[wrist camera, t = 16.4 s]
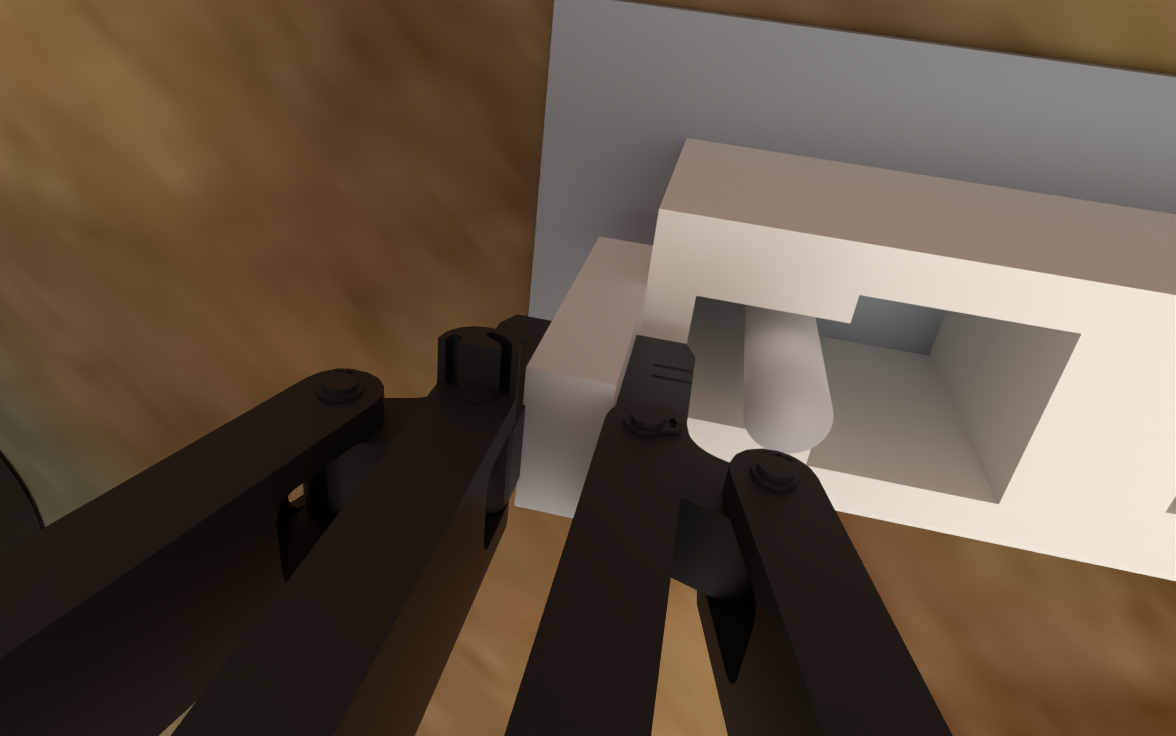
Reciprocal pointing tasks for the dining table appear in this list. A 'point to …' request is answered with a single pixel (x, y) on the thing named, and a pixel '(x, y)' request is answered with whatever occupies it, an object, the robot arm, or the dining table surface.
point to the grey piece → (818, 151)
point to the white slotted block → (942, 345)
